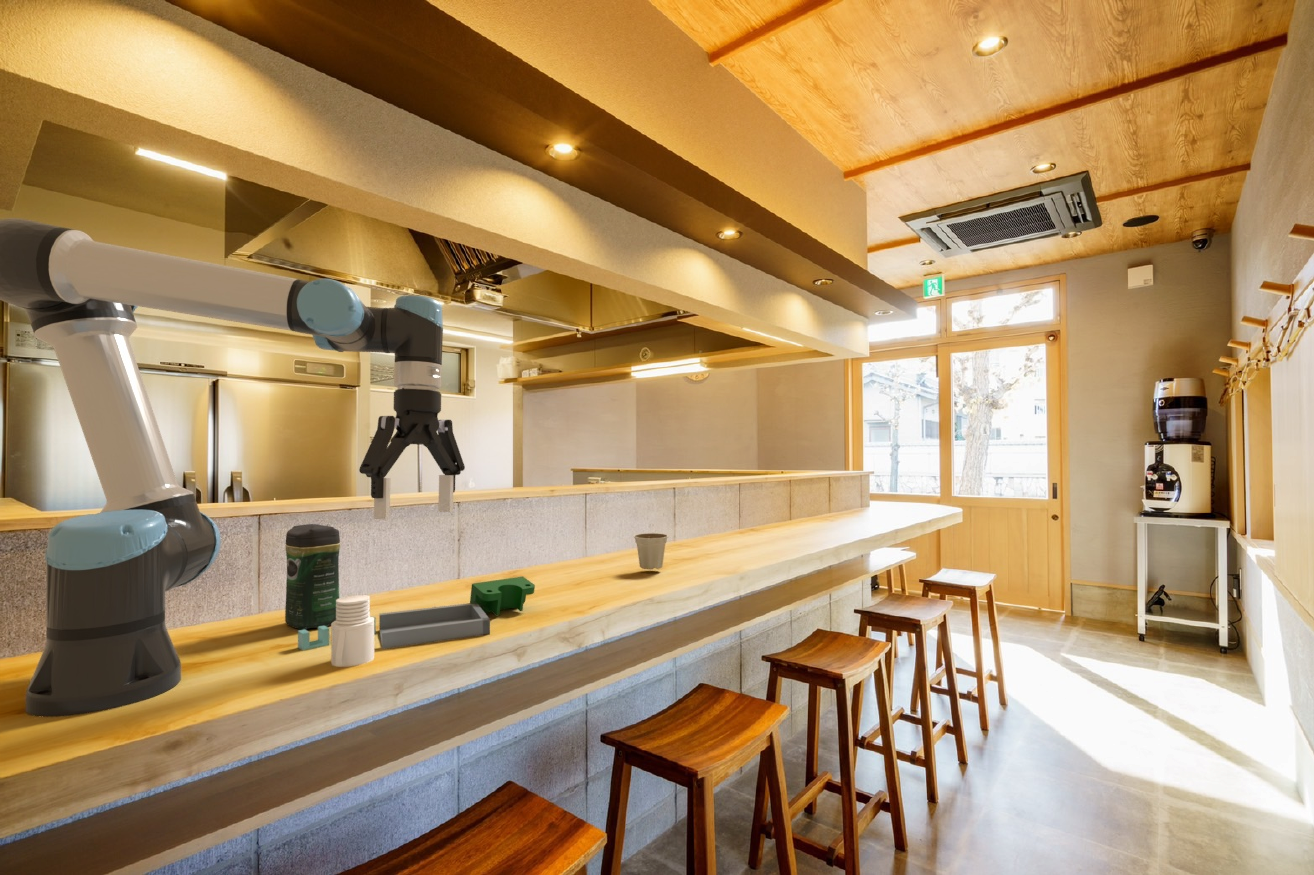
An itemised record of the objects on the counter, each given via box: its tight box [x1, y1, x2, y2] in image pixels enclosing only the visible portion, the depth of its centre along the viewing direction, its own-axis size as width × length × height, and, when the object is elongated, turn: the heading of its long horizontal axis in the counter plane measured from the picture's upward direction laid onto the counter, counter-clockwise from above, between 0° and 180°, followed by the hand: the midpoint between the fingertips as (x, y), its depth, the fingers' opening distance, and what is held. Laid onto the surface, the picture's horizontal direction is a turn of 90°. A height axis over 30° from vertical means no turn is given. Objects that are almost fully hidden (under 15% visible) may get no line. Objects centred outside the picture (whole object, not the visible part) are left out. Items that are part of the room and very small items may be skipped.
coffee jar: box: [284, 523, 341, 630], centre depth 114 cm, size 10×8×19 cm
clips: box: [297, 615, 377, 651], centre depth 103 cm, size 12×3×3 cm, turn 141°
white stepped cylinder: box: [330, 594, 375, 668], centre depth 92 cm, size 8×7×10 cm
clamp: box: [469, 576, 536, 616], centre depth 121 cm, size 12×6×9 cm, turn 127°
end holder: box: [378, 602, 491, 650], centre depth 108 cm, size 17×13×3 cm
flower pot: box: [633, 532, 669, 570], centre depth 165 cm, size 9×9×9 cm
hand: (415, 515), depth 103 cm, fingers open, 13 cm apart
